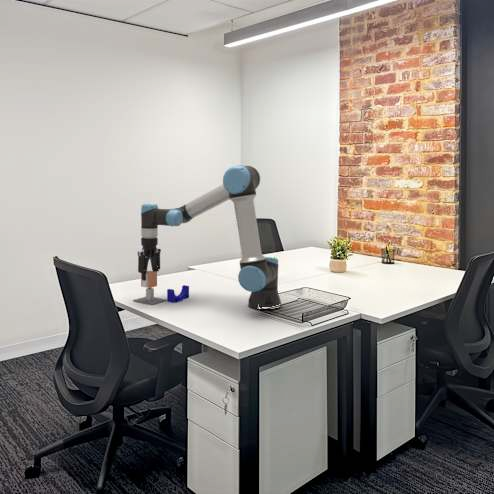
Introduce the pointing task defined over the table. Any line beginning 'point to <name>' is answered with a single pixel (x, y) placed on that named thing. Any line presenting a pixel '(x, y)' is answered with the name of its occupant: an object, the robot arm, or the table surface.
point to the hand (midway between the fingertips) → (149, 285)
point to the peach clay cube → (151, 279)
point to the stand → (150, 298)
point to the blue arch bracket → (183, 295)
